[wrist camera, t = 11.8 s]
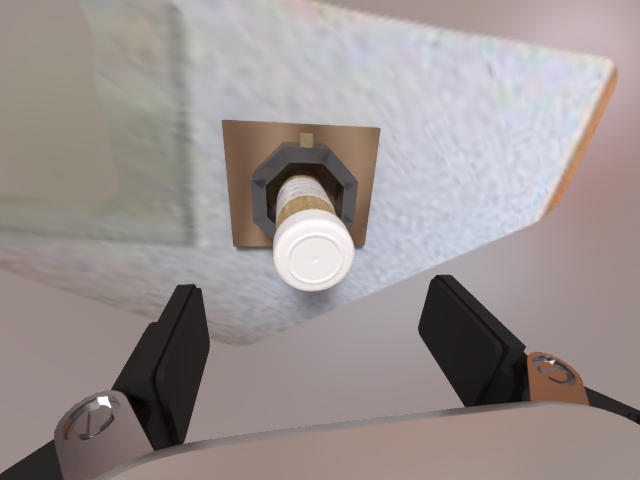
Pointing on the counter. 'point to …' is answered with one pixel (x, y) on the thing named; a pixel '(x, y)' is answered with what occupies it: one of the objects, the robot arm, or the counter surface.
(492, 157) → the counter surface
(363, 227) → the walnut board
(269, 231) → the socket
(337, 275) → the sprinkles bottle
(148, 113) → the counter surface
